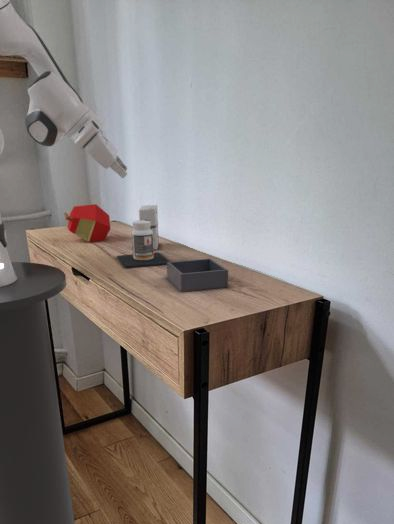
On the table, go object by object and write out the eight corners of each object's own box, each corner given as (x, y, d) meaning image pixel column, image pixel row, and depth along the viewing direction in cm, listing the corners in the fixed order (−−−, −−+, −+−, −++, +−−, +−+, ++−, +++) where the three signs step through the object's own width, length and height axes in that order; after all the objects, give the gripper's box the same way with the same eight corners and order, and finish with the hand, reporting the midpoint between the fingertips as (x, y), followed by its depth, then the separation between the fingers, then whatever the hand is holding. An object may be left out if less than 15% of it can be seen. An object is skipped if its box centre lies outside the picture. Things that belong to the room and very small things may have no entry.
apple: (110, 249, 153) (63, 236, 146) (102, 243, 164) (57, 231, 157) (120, 211, 151) (72, 196, 144) (111, 208, 161) (66, 194, 154)
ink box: (143, 243, 151) (141, 204, 146) (159, 243, 151) (157, 204, 146) (140, 249, 143) (138, 208, 139) (157, 250, 143) (155, 209, 139)
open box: (181, 291, 107) (181, 274, 105) (167, 278, 117) (166, 262, 115) (227, 287, 110) (228, 270, 109) (210, 274, 120) (210, 258, 118)
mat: (126, 268, 125) (126, 266, 125) (117, 257, 135) (117, 255, 135) (170, 264, 129) (170, 262, 128) (158, 254, 139) (158, 252, 139)
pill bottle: (158, 258, 132) (157, 221, 128) (141, 262, 128) (139, 224, 124) (145, 255, 135) (143, 219, 131) (128, 258, 132) (126, 221, 128)
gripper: (81, 136, 134) (118, 175, 140) (74, 144, 116) (116, 188, 122) (97, 119, 133) (133, 159, 138) (92, 125, 115) (134, 170, 121)
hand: (125, 173), depth 130 cm, fingers open, 8 cm apart
